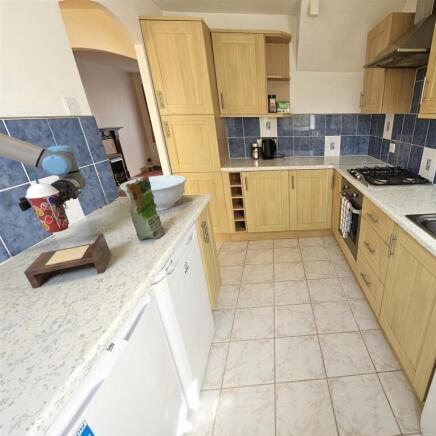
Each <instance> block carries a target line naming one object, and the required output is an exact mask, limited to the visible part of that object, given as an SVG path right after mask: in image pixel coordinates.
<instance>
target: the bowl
mask: <svg viewBox="0 0 436 436" xmlns="http://www.w3.org/2000/svg"><path fill="white" fill-rule="evenodd" d="M148 177H149V181H150V185H151V191H152V194H153V195H154V203H155V204H156V205H157V206H156V212H158V211H160V212H161V211H165V210H168V209H171V208H173V207H175V205H176V202H178V201H179V200H180V199H181V198H182V197H183V196H184V194H185V185H186V182H187V177H186V176H183V175H176V174H164V175H163V174H162V175H154V176H148ZM141 178H142V177H140V178H136V179H137V180H140V179H141ZM136 179H131V180H128V181H124V182H123V183H121V184H120V185H119V189H120V190H121V191H123V192H124V193H125V196H126V197H127V199H128V200H129V201H130V202H131V200H130V197H129V193H128V192H127V187H126V185H127V184H132V183H134V182H136Z"/></svg>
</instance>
